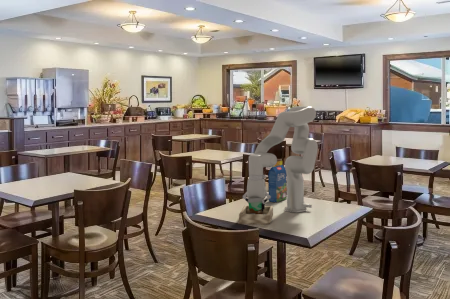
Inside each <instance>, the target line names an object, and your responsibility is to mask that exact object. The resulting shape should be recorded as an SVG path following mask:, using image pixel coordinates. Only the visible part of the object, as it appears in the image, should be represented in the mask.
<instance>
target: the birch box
mask: <svg viewBox="0 0 450 299" xmlns="http://www.w3.org/2000/svg"><path fill="white" fill-rule="evenodd" d="M273 216H274V206H273V205H265V209H264V210H263V215H262V214H250V213H249V205H244V206H243V208H242V209H241V210H240V212H239V213H238V224H239V225H264V226H270V225H271V223H272V220H273Z"/></svg>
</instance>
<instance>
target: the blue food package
mask: <svg viewBox="0 0 450 299" xmlns="http://www.w3.org/2000/svg"><path fill="white" fill-rule="evenodd" d="M267 178H268V181H267V182H268V187H267V189H268V191H267V193H268V194H269V195H270V196H271V198H270V199H269V200H268V202H269V203H270V202H272V203H279V202H282V201H285V200H287V174H286V169H285V165H283V160H279V161H278V160H277V163H276V164H275V165H274V166H273V167H270V169H269V171H268V176H267Z"/></svg>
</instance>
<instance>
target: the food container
mask: <svg viewBox="0 0 450 299" xmlns="http://www.w3.org/2000/svg"><path fill="white" fill-rule="evenodd" d="M262 201H263V199H262V198H261V197H260V198H248V202H247V203H249V204H248V206H249V213H250V214H262V215H263V211H262Z"/></svg>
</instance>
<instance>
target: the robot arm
mask: <svg viewBox="0 0 450 299" xmlns="http://www.w3.org/2000/svg"><path fill="white" fill-rule="evenodd" d="M316 117H317V111H316V109H315V108H314V107H313V106H309V105H308V106H306V105H305V106H304V105H302V106H301V105H300V106H292V107H291V108H289V111H282V112H280V113H279V114H278V116H277V117H276V119H275V121H274V124H273V126H272V128H271V130H270V132H269V134H268V135H267V136H266V137H264V138H263V139H262V140H261V141H260V142H259V143H258V144H257V147H256V148H255V150H254V153H253V154H249V155H248V179H247V185H246V192H245V193H244V194H242V199H243V200H245V201H246V203H248V198H260V197H261V198H262V199H263V201H262V211H263V210H264V209H265V206H266V203H267V202H269V199H270V198H271V196H270V195H269V192H268V191H267V187H266V186H267V185H266V184H267V183H266V178H267V176H266V175H265V174H264V168H272V167H273V166H274V165H275V164H276V163H277V162H278V158H277V156H276V155H275V154H274V153H270V152H268V151H269V150H270V149H271V148H273V147H274V146H276V145H278V144H280V143H282V142H284V140H285V138H286V137H287V135H288V132H289V130H290V128H291V127H292V128H294V131H293V132H294V133H293V137H292V142H291V145H290V146H291V147H290V149H291V151H292V153H294V154H297V155H289V156H288V157H287V158H285V162H284V168H285V169H286V182H287V199H286V204H287V205H286V206H285V207H284V211H285V212H288V213H304V212H306V211H307V208H312V207H313V206H312V205H313V204H311V203H305V200H304V199H305V198H304V197H305V193H304V192H305V191H304V190H305V189H304V186H305V185H304V183H305V182H304V176H303V175H310V174H311V173H312V172H313V171H314V169H315V164H316V160H317V155H318V148H319V146H318V143H317V140H315V139H314V138H311V137H310V138H309V135H310V126H309V123H311V122H312V121H315V119H316ZM298 155H299V156H298ZM300 155H302V156H300ZM248 205H249V203H248Z"/></svg>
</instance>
